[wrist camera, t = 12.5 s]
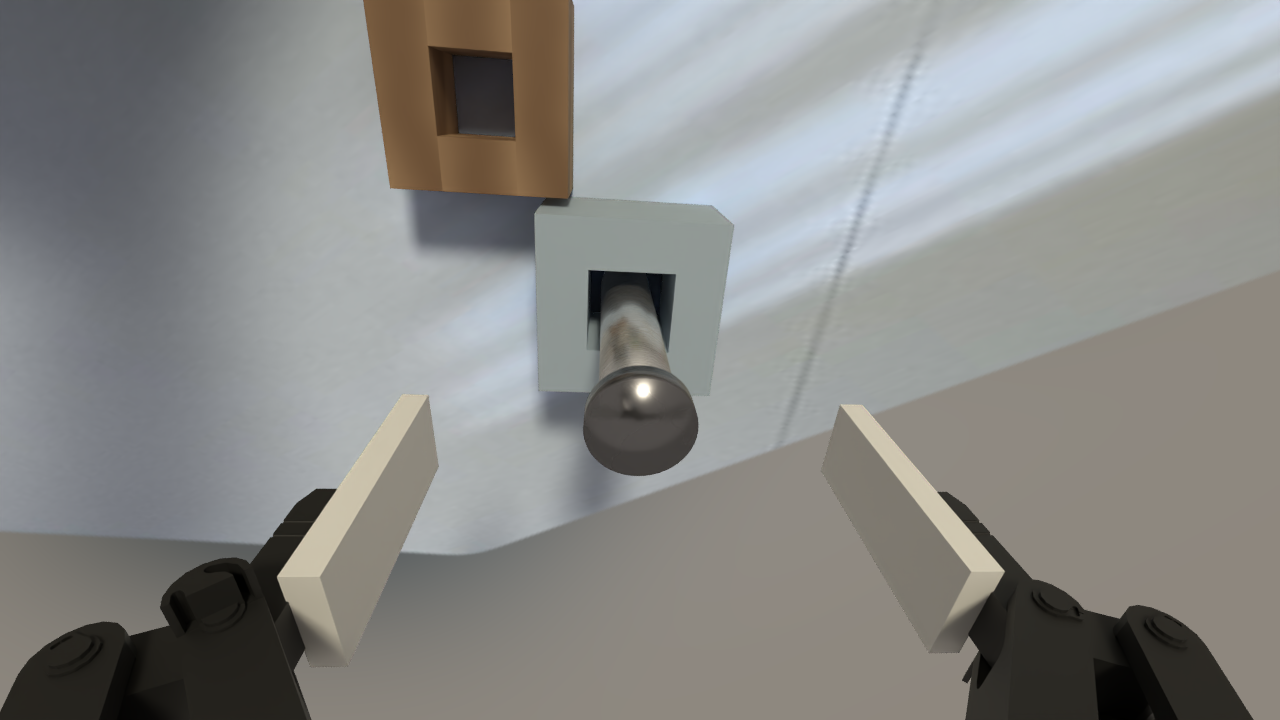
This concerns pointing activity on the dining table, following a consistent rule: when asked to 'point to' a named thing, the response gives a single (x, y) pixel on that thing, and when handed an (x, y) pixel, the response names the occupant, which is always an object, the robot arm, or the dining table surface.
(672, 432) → the lock pin
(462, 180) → the mount block
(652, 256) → the socket block
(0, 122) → the dining table surface
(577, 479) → the dining table surface
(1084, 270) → the dining table surface
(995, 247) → the dining table surface
